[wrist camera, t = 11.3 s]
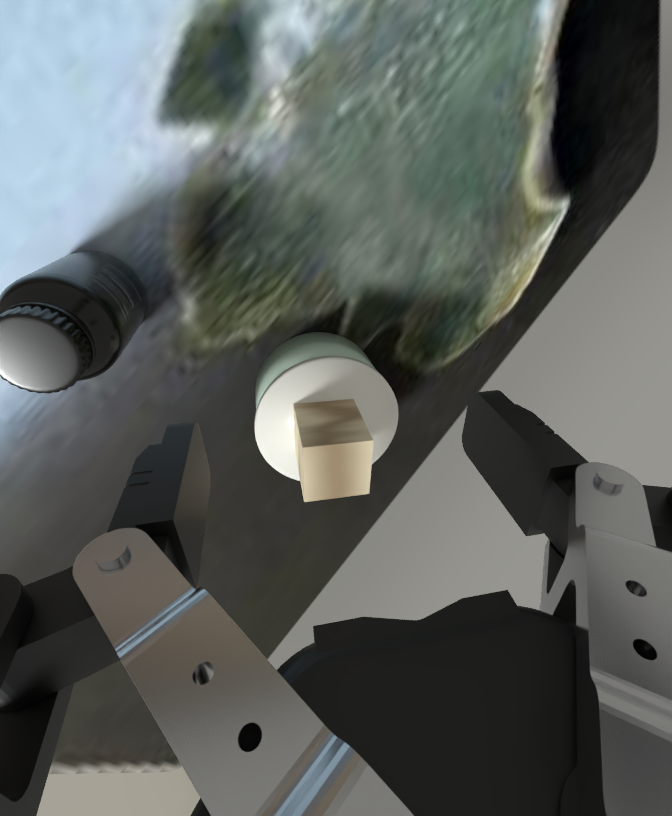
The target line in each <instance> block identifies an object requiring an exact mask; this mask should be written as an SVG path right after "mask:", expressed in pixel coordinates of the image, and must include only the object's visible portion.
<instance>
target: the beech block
mask: <svg viewBox="0 0 672 816" xmlns="http://www.w3.org/2000/svg"><path fill="white" fill-rule="evenodd" d="M293 412H294V435H295V455H296V460H297V466H298V471H299V476H300V482H301V487H302V493H303V498H304V502H309V501H317V500H324V499H332V498H340V497H347V496H355V495H363V494H369V489H370V477H371V465H372V453H373V441H374V440H373V438H372V436H371V434H370V432H369V430H368V428H367V426H366V424H365V422H364V420H363V418H362V416H361V414H360V412H359V410H358V407H357V405H356V403H355V401H354V399H347V400H335V401H323V402H311V403H299V404H293Z"/></svg>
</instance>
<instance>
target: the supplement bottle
mask: <svg viewBox="0 0 672 816" xmlns="http://www.w3.org/2000/svg"><path fill="white" fill-rule="evenodd" d="M146 309H147V299H146V294H145V291H144V288H143V286H142V284H141V282H140V280H139V279H138V277H137V276H136V275H135V274H134V272H133V271H132V270H131V269H130V268H129V267H127V266H126V265H125V264H124V263H122V262H121V261H119V260H117V259H115V258H113V257H111V256H109V255H106V254H103V253H99V252H92V251H83V252H77V253H73V254H70V255H68V256H65V257H63V258H61V259H59V260H57V261H55V262H53V263H51V264H49V265H47V266H45V267H43V268H41V269H39V270H37V271H35V272H32V273H30V274H28V275H26V276H24V277H22V278H21V279H19V280H17V281H15V282H14V283H12V284H11V285H9V286H8V287H7V288H6V289H5V290H4V291H3V292H2V293H1V295H0V376H1V378H2V379H4V380H6V381H8V382H9V383H10V384H11V385H15V386H17V387H18V388H20V389H26V390H27V391H29V392H37V393H52V392H59V391H60V390H66V389H67V388H68V387H70V386H73V385H74V384H75V383H76V382H77V381H80V380H86V379H90V378H93V377H96V376H98V375H100V374H102V373H104V372H105V371H107V370H108V369H109V368H110V367H111V366H112V365H113V364H114V363H115V361H116V360H117V359H118V357H119V356H120V354H121V353H122V351H123V350H124V349H125V347H126V346H127V344H128V343H129V341H130V340H131V338H132V337H133V335H134V334H135V332H136V331H137V329H138V328H139V326H140V325H141V323H142V321H143V319H144V317H145V314H146Z"/></svg>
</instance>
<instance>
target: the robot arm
mask: <svg viewBox="0 0 672 816" xmlns="http://www.w3.org/2000/svg"><path fill="white" fill-rule="evenodd" d="M462 443H463V447H464V450H465V452H466V454H467V456H468V457H469V459H470V460H471V461H472V463H473V464H474V465H475V467H476V468H477V470H478V471H479V472H480V474H481V475H482V476H483V478H484V479H485V481H486V482H487V483H488V485H489V486H490V487H491V489H492V490H493V491H494V493H495V494H496V495H497V497H498V498H499V500H500V501H501V502H502V504H503V505H504V506H505V508H506V509H507V511H508V512H509V513H510V515H511V516H512V517H513V518H514V520H515V522H516V523H517V524H518V526H519V527H520V528H521V530H522V531H523V532H524V534H525V535H526V536H531V535H537V534H542V533H545V535H546V536H547V537H548V540H547V543H546V545H545V552H544V566H543V580H542V592H541V604H540V610H536V609H532V608H527V607H522V606H517V605H516V603H515V602H514V600H513V598H512V597H511V595H510V593H509V592H508V590H505V591H500V592H494V593H489V594H484V595H479V596H473V597H468V598H462V599H460V600H458V601H457V602H455V603H453V604H451V605H449V606H447V607H445V608H443V609H441V610H439V611H437V612H435V613H433V614H432V615H430V616H428V617H426V618H424V619H421V620H417V621H416V620H415V621H413V620H399V619H386V618H372V617H360V618H355V619H350V620H344V621H339V622H334V623H328V624H323V625H317V626H313V629H314V641H315V643H313V644H311V645H309V646H307V647H305V648H303V649H302V650H301V651H299V652H297V653H296V654H294V655H293V656H292V657H290V658H289V659H288V660H287V661H286V662H285V663H284V664H282V665H281V666H280V668H279V669H278V670H276V669H275V668H274V667H273V666H272V665H271V664H270V662H269V661H268V660H267V659H266V658H265V657H264V655H263V654H262V653H261V652H260V651H259V650H258V649H257V648H256V646H255V645H254V644H253V643H252V642H251V641H250V640H249V638H248V637H247V636H246V635H245V634H244V633H243V632H242V630H241V629H240V628H239V627H238V626H237V625H236V624H235V623H234V621H233V620H232V619H231V618H230V617H229V616H228V615H227V613H226V612H225V611H224V610H223V609H222V608H221V607H220V605H219V604H218V603H217V602H216V601H215V600H214V599H213V597H212V596H211V595H210V594H209V593H208V592H207V591H206V590H204V589H203V588H199V589H197V584H198V576H199V569H200V561H201V553H202V546H203V538H204V531H205V523H206V515H207V508H208V500H209V493H210V469H209V464H208V460H207V456H206V452H205V448H204V443H203V439H202V435H201V431H200V427H199V425H198V423H197V422H191V423H181V424H172V425H168V426H167V428H166V431H165V434H164V437H163V441H162V444H157V445H149V446H148V447H147V448H146V449H145V450H144V451H143V452H142V453H141V454H140V455H139V456H138V457H137V458H136V460H135V463H134V465H133V468H132V470H131V476H129V478H128V480H127V483H126V488H124V491H123V493H122V496H121V498H120V501H119V503H118V506H117V508H116V511H115V513H114V516H113V518H112V521H111V524H110V526H109V529H108V531H107V533H106V534H104V535H102V536H100V537H98V538H96V539H95V540H93V541H92V542H91V543H90V544H88V545H87V546H86V547H85V548H84V549H83V550H82V551H81V553H80V554H79V555H78V557H77V559H76V560H75V563H74V565H73V566H72V567H70V568H68V569H66V570H64V571H61V572H59V573H56V574H54V575H51V576H48V577H46V578H43V579H41V580H38V581H36V582H33V583H31V584H28V585H25V586H23V585H22V584H21V582H20V581H19V580H18V579H17V578H16V577H14V576H12V575H8V574H0V816H36V814H37V811H38V807H39V804H40V801H41V797H42V794H43V790H44V787H45V783H46V780H47V776H48V773H49V769H50V766H51V762H52V759H53V755H54V752H55V748H56V745H57V741H58V738H59V734H60V731H61V728H62V724H63V721H64V717H65V714H66V710H67V707H68V703H69V700H70V696H71V693H72V689H73V686H74V683H75V682H77V681H79V680H81V679H83V678H85V677H87V676H89V675H91V674H93V673H95V672H97V671H99V670H101V669H103V668H105V667H107V666H109V665H111V664H113V663H115V662H117V661H119V660H121V661H122V663H123V665H124V667H125V668H126V670H127V672H128V673H129V675H130V677H131V679H132V680H133V682H134V684H135V686H136V687H137V689H138V691H139V692H140V694H141V696H142V698H143V699H144V701H145V703H146V704H147V706H148V708H149V710H150V711H151V713H152V715H153V717H154V718H155V720H156V722H157V723H158V725H159V727H160V729H161V730H162V732H163V734H164V736H165V737H166V739H167V741H168V742H169V744H170V746H171V748H172V749H173V751H174V753H175V754H176V756H177V758H178V760H179V761H180V763H181V765H182V767H183V768H184V770H185V772H186V773H187V775H188V777H189V779H190V780H191V782H192V784H193V785H194V787H195V789H196V791H197V792H198V794H199V796H200V800H199V802H198V803H197V805H196V807H195V809H194V811H193V812H192V814H191V816H672V487H671V488H667V487H657V486H646V485H641V483H640V482H639V481H638V480H637V479H636V478H635V477H633V476H632V475H630V474H629V473H627V472H626V471H624V470H622V469H619V468H617V467H615V466H612V465H608V464H604V463H596V462H591V463H589V462H587V460H585V459H584V458H583V457H582V456H581V455H580V454H579V453H578V452H577V451H575V450H574V449H573V448H572V447H571V446H569V444H567V443H566V442H565V441H564V440H563V439H562V438H561V437H560V436H559V435H557V434H554V431H553V430H552V429H551V428H550V427H549V426H547V425H545V423H544V422H543V421H542V420H541V419H540V418H538V417H537V416H536V415H535V414H534V413H532V412H531V411H529V410H527V409H525V408H523V407H521V406H519V405H516V404H514V403H513V402H512V401H510V400H509V399H508V398H507V397H506V396H505V395H504V394H503V393H502V392H501V391H498V390H495V391H486V392H476V393H473V394H472V395H471V396H470V398H469V402H468V407H467V413H466V418H465V423H464V428H463V434H462Z"/></svg>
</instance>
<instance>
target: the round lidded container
mask: <svg viewBox="0 0 672 816" xmlns="http://www.w3.org/2000/svg"><path fill="white" fill-rule="evenodd" d="M255 397H256V414H255V437H256V441H257V445H258V447H259V450H260V452H261V454H262V455H263V457H264V458H265V460H266V461H267V462H268V463H269V464H270V465H271V466H272V467H273V468H274V469H276V470H277V471H278V472H280V473H282V474H283V475H285V476H287V477H290V478H292V479H295V480H298V481H300V476H299V471H298V466H297V460H296V455H295V435H294V412H293V404H299V403H311V402H323V401H335V400H347V399H354V401H355V403H356V405H357V407H358V410H359V412H360V414H361V416H362V418H363V420H364V422H365V424H366V426H367V428H368V430H369V432H370V434H371V436H372V438H373V440H374V441H373V453H372V464H373V463H374V462H375V461H376V460H377V459H378V458H379V457H380V456H381V455H382V454H383V453H384V452H385V450H386V449H387V447H388V446H389V444H390V443H391V441H392V439H393V437H394V434H395V432H396V428H397V424H398V405H397V400H396V398H395V395H394V392H393V391H392V389H391V387H390V385H389V384H388V383H387V381H386V380H385V379H384V377H383V376H382V375H381V374H380V373H379V372H378V371H377V370H376V369H375V368H374V366H373V365H372V363H371V362H370V360H369V359H368V357H367V356H366V354H365V353H364V352H363V351H362V349H360V348H359V347H358V346H357V345H356V344H355V343H353V342H352V341H350V340H349V339H347V338H345V337H342V336H339V335H337V334H332V333H326V332H312V333H306V334H302V335H298V336H295V337H293V338H291V339H289V340H287V341H285V342H283V343H282V344H280V345H279V346H278V347H276V348H275V349H274V350H273V351H272V352H271V353H270V354H269V355H268V356H267V358H266V359H265V361H264V362H263V364H262V366H261V368H260V369H259V372H258V375H257V379H256V384H255Z"/></svg>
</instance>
